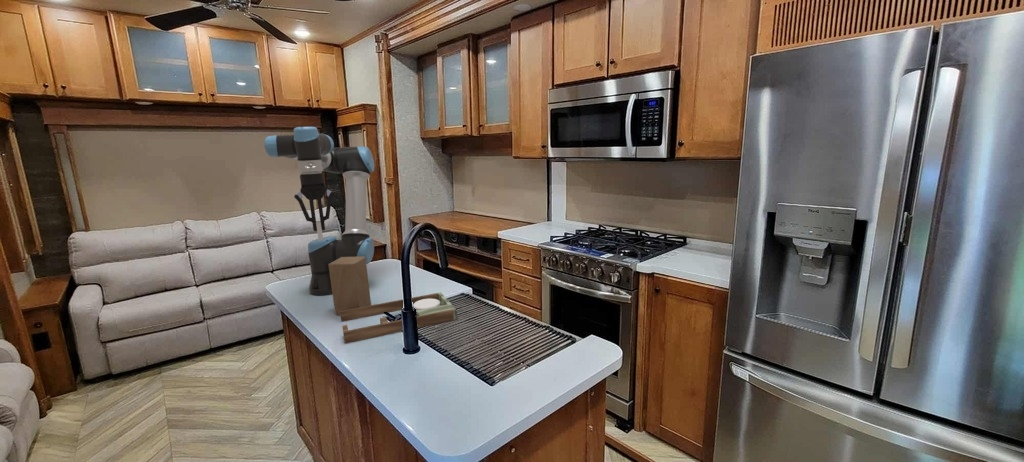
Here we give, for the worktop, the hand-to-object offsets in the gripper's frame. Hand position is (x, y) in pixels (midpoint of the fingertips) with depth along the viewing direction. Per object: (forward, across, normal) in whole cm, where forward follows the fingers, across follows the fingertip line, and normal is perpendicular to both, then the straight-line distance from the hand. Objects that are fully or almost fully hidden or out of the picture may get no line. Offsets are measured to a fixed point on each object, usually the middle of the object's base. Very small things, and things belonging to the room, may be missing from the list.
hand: (320, 239), depth 151 cm
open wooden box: (+29, +21, -16) cm, 40 cm away
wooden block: (+30, +8, +3) cm, 31 cm away
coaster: (+30, +33, -13) cm, 46 cm away
